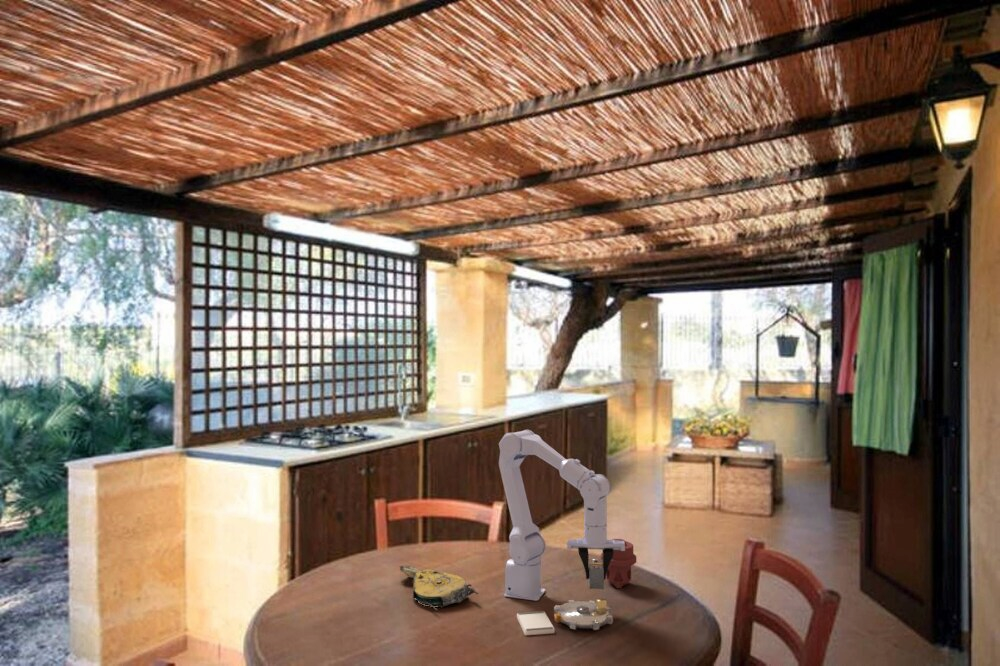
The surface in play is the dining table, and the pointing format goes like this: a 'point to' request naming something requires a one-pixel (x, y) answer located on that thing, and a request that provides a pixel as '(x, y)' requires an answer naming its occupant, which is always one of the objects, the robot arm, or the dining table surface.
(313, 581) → the dining table surface
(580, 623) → the sprocket wheel
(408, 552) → the dining table surface
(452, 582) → the tan irregular slab
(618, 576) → the mechanical component
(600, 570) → the striped block with rivets
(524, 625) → the guide plate
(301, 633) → the dining table surface
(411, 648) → the dining table surface
